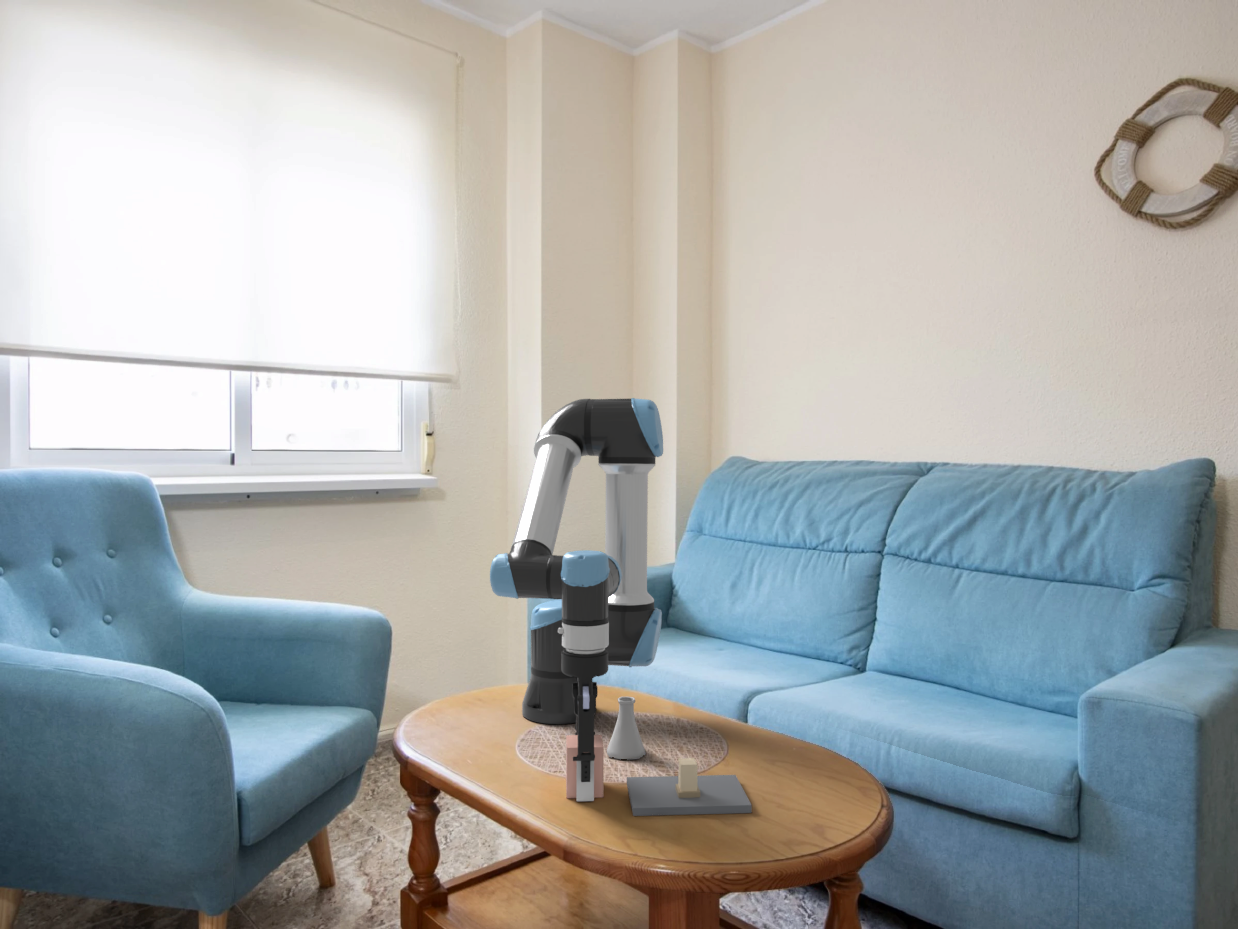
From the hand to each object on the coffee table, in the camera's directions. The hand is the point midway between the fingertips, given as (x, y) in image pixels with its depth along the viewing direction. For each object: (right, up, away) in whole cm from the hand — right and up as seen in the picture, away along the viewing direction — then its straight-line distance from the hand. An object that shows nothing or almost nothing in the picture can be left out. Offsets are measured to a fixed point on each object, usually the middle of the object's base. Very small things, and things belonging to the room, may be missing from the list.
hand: (584, 789), depth 140 cm
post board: (+16, 0, -3) cm, 16 cm away
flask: (+7, 0, +17) cm, 18 cm away
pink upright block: (0, 0, 0) cm, 0 cm away
